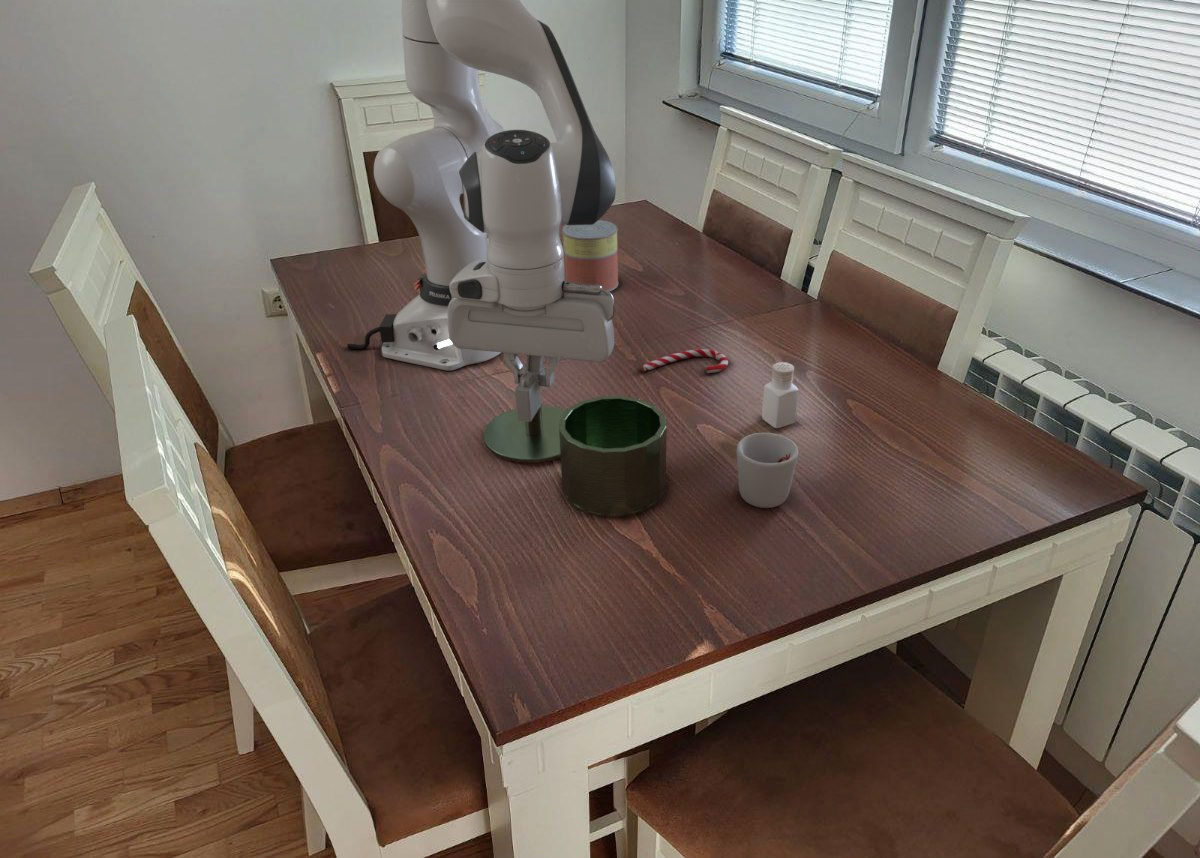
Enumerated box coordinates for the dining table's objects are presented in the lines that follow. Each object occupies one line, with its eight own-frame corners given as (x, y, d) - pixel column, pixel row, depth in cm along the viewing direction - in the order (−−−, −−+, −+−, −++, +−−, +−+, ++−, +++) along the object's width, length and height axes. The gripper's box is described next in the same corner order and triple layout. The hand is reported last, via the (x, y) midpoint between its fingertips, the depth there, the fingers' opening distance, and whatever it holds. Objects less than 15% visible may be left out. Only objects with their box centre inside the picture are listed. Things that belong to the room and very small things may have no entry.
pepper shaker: (775, 430, 135) (780, 375, 130) (759, 418, 138) (764, 364, 133) (796, 423, 136) (802, 369, 131) (780, 412, 139) (785, 358, 134)
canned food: (628, 280, 187) (628, 224, 181) (599, 298, 179) (598, 241, 173) (583, 270, 192) (581, 216, 186) (554, 288, 184) (550, 232, 178)
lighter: (530, 422, 108) (526, 364, 104) (517, 420, 108) (512, 362, 104) (548, 393, 114) (545, 337, 109) (535, 392, 114) (531, 336, 110)
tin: (562, 519, 117) (558, 453, 112) (563, 459, 130) (560, 397, 124) (669, 515, 118) (670, 449, 112) (660, 456, 130) (661, 394, 124)
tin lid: (480, 468, 128) (476, 434, 125) (488, 413, 141) (484, 382, 138) (586, 463, 129) (585, 430, 126) (584, 410, 142) (583, 378, 139)
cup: (724, 471, 126) (726, 423, 122) (779, 467, 127) (783, 419, 122) (740, 517, 117) (744, 466, 113) (800, 512, 117) (805, 462, 113)
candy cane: (636, 356, 154) (717, 344, 157) (636, 363, 155) (717, 351, 158) (649, 376, 148) (734, 364, 151) (649, 383, 148) (733, 371, 151)
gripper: (620, 275, 103) (621, 379, 111) (456, 263, 108) (468, 363, 115) (607, 297, 98) (609, 404, 106) (435, 282, 103) (449, 387, 110)
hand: (534, 383), depth 110 cm, fingers closed on lighter, 2 cm apart
